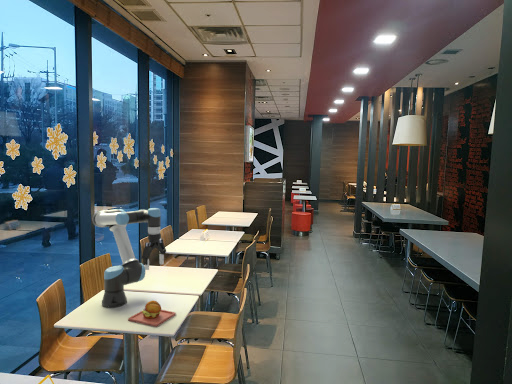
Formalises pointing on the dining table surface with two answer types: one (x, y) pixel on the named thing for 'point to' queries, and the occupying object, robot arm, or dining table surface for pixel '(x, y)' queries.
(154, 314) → the cheeseburger
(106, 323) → the dining table surface
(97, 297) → the dining table surface
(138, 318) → the tray
